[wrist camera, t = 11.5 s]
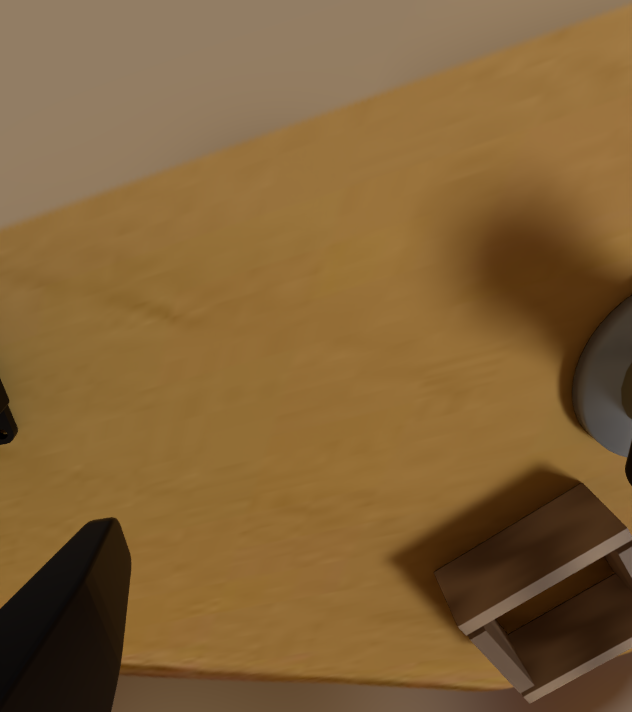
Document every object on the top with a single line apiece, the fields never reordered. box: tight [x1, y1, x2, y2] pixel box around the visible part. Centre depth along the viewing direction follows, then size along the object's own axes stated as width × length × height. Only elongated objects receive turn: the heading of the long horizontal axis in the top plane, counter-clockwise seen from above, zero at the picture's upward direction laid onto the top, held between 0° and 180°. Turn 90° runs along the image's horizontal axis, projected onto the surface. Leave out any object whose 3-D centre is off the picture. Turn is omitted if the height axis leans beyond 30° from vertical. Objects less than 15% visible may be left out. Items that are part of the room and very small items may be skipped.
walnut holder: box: [434, 483, 632, 703], centre depth 28 cm, size 10×10×4 cm
